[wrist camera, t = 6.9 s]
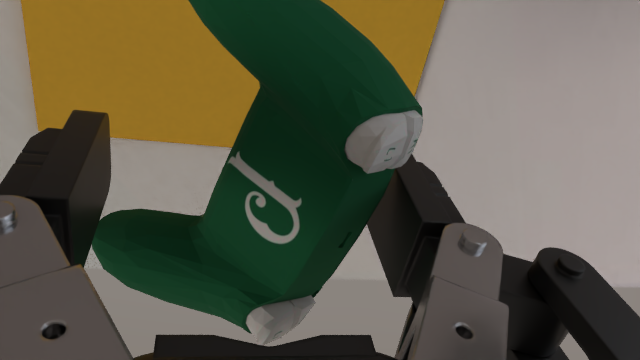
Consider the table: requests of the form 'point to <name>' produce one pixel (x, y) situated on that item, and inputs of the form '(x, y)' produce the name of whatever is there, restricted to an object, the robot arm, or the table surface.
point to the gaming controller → (277, 172)
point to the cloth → (179, 63)
